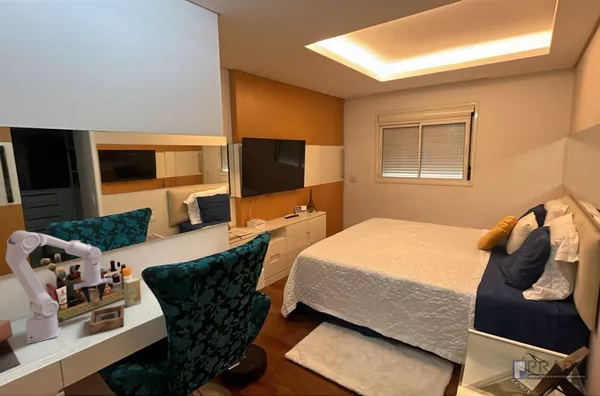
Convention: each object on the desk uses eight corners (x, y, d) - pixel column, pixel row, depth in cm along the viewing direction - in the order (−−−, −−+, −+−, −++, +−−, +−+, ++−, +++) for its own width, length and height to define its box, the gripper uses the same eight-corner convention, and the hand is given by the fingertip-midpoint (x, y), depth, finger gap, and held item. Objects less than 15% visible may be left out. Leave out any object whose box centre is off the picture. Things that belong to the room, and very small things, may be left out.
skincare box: (128, 307, 147) (126, 283, 145) (124, 304, 149) (122, 281, 148) (142, 302, 152) (140, 279, 150) (137, 300, 155) (136, 277, 153)
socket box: (89, 334, 124) (89, 325, 123) (93, 319, 136) (92, 310, 135) (123, 326, 130) (123, 317, 129) (124, 312, 142) (123, 304, 141)
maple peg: (89, 307, 137) (88, 292, 136) (90, 304, 140) (89, 289, 139) (100, 305, 138) (99, 291, 138) (101, 302, 142) (99, 287, 141)
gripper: (71, 278, 130) (74, 308, 132) (111, 272, 138) (113, 300, 139) (73, 273, 136) (76, 302, 138) (111, 267, 144) (113, 294, 145)
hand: (95, 300), depth 139 cm, fingers closed on maple peg, 4 cm apart
